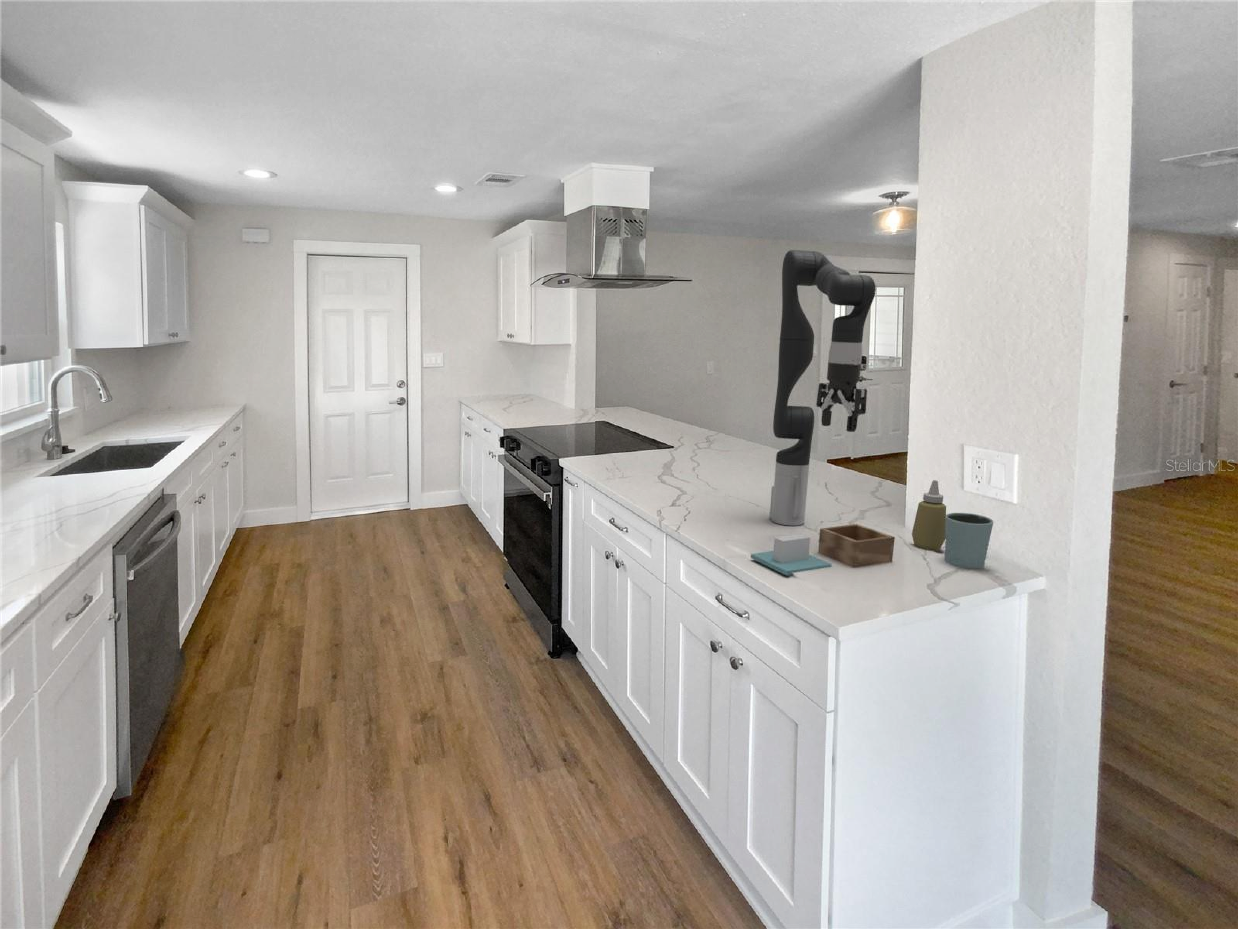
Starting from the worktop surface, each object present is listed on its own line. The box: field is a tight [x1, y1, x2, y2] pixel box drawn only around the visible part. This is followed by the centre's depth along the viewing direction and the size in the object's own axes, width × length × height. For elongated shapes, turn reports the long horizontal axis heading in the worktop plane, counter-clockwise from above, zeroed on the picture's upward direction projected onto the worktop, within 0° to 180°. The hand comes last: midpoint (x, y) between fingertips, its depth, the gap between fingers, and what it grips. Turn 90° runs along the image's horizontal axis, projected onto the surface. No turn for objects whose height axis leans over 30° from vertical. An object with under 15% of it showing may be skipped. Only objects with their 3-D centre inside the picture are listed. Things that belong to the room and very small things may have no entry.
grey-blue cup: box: [944, 512, 995, 570], centre depth 170 cm, size 10×10×12 cm
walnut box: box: [817, 523, 896, 569], centre depth 172 cm, size 12×12×7 cm
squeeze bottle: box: [911, 479, 947, 553], centre depth 182 cm, size 8×8×18 cm
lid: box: [750, 533, 832, 576], centre depth 167 cm, size 13×13×7 cm
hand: (838, 428), depth 174 cm, fingers open, 8 cm apart
